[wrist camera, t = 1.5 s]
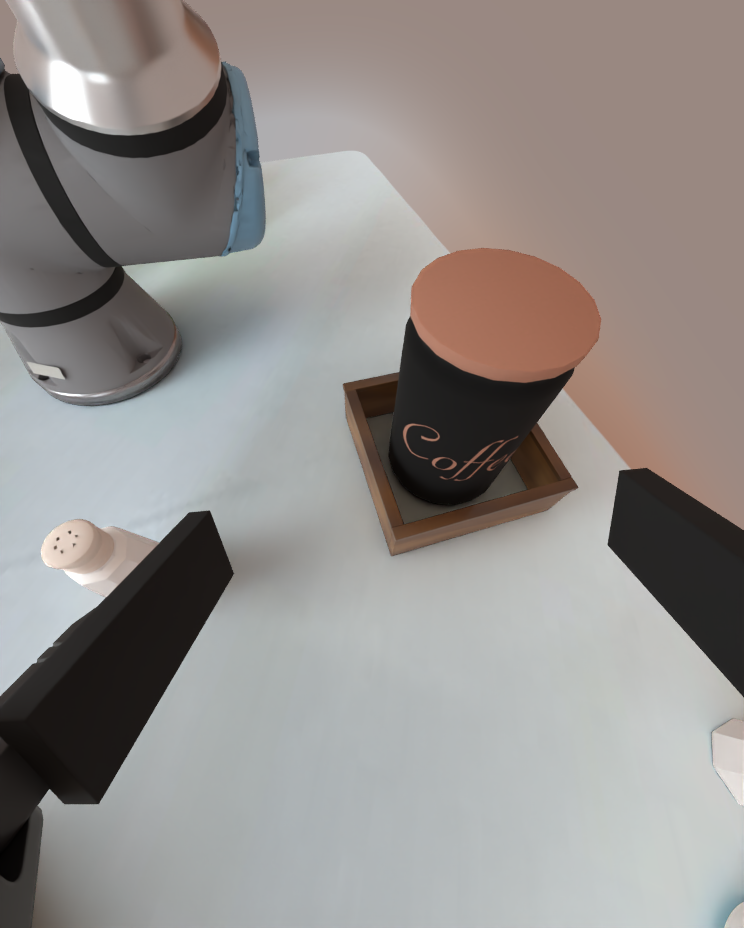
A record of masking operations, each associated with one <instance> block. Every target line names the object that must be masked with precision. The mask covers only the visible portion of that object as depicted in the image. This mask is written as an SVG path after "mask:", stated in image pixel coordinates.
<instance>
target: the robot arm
mask: <svg viewBox="0 0 744 928" xmlns="http://www.w3.org/2000/svg"><path fill="white" fill-rule="evenodd" d="M5 1H6V2H7V4H8V6H9V7H10V9H11V11H12V12H13V14H14V16H15V17H16V19H17V24H16V30H15V35H14V44H13V51H14V59H15V63H16V67H17V70H18V71H19V73H20V74H9V73H8V72H6V71H5V69H4V67H5V65H4V63H3V61H2V60H1V58H0V322H1V324H2V325H3V327H4V329H5V331H6V332H7V334H8V336H9V338H10V340H11V341H12V343H13V345H14V347H15V349H16V351H17V352H18V354H19V356H20V358H21V360H22V362H23V363H24V365H25V367H26V369H27V371H28V372H29V374H30V376H31V377H32V379H33V380H34V381H35V382H36V383H37V384H39V385H40V386H41V387H42V388H43V389H44V390H46V391H47V392H48V393H49V394H50V395H51V396H53V397H55V398H56V399H58V400H60V401H63V402H66V403H70V404H75V405H85V406H94V405H104V404H110V403H114V402H118V401H122V400H125V399H128V398H131V397H133V396H135V395H138V394H140V393H142V392H144V391H146V390H147V389H149V388H150V387H152V386H154V385H155V384H156V383H158V382H159V381H160V380H161V379H163V378H164V377H165V376H166V375H167V374H168V373H169V372H170V370H171V369H172V368H173V367H174V365H175V364H176V362H177V360H178V358H179V356H180V353H181V348H182V339H181V335H180V332H179V330H178V328H177V327H176V325H175V323H174V321H173V319H172V318H171V316H170V315H169V314H168V313H167V311H165V310H164V309H163V308H162V307H161V306H160V305H159V304H158V303H157V302H156V301H155V300H154V299H153V298H152V297H151V296H150V295H149V294H148V293H147V292H145V291H144V290H143V289H142V288H141V287H140V286H139V285H138V284H137V283H136V282H135V281H134V280H133V279H132V278H131V277H130V276H128V275H127V274H126V272H125V271H124V269H123V268H122V266H126V265H136V264H146V263H155V262H165V261H175V260H185V259H194V258H204V257H214V256H226V255H228V254H229V253H233V252H238V251H243V250H249V249H253V248H255V247H257V246H258V245H259V244H260V243H261V241H262V239H263V237H264V233H265V224H266V215H265V197H264V186H263V177H262V169H261V164H260V161H259V149H258V137H257V130H256V124H255V118H254V112H253V107H252V103H251V98H250V93H249V89H248V86H247V82H246V79H245V77H244V74H243V73H242V71H241V70H240V69H239V68H237V67H235V66H231V65H230V64H228V63H226V62H221V58H220V53H219V49H218V46H217V43H216V40H215V38H214V36H213V34H212V32H211V30H210V28H209V27H208V25H207V24H206V22H205V21H204V20H203V19H202V18H201V16H200V15H199V14H198V13H196V11H194V10H193V9H192V8H191V7H190V6H189V5H188V4H187V3H186V2H184V1H183V0H5ZM608 546H609V547H610V548H611V549H612V550H613V552H614V553H615V554H616V555H617V556H618V557H619V558H620V559H621V560H622V562H623V563H624V564H625V565H626V566H627V567H628V568H629V569H630V571H631V572H632V573H633V574H634V575H635V576H636V577H637V578H638V579H639V581H640V582H641V583H642V584H643V585H644V586H645V587H646V588H647V590H648V591H649V592H650V593H651V594H652V595H653V596H654V597H655V598H656V600H657V601H658V602H659V603H660V604H661V605H662V606H663V607H664V609H665V610H666V611H667V612H668V613H669V614H670V615H671V616H672V617H673V619H674V620H675V621H676V622H677V623H678V624H679V625H680V626H681V628H682V629H683V630H684V631H685V632H686V633H687V634H688V635H689V636H690V638H691V639H692V640H693V641H694V642H695V643H696V644H697V645H698V647H699V648H700V649H701V650H702V651H703V652H704V653H705V654H706V655H707V657H708V658H709V659H710V660H711V661H712V662H713V663H714V664H715V666H716V667H717V668H718V669H719V670H720V671H721V672H722V673H723V674H724V676H725V677H726V678H727V679H728V680H729V681H730V682H731V683H732V685H733V686H734V687H735V688H736V689H737V690H738V691H739V692H740V693H741V695H742V696H743V697H744V530H742V529H741V528H739V527H738V526H736V525H735V524H733V523H731V522H730V521H728V520H727V519H725V518H724V517H722V516H721V515H719V514H717V513H716V512H714V511H713V510H711V509H710V508H708V507H707V506H705V505H703V504H702V503H700V502H699V501H697V500H696V499H694V498H693V497H691V496H689V495H688V494H686V493H685V492H683V491H682V490H680V489H679V488H677V487H675V486H674V485H672V484H671V483H669V482H667V481H666V480H665V479H663V478H662V477H660V476H658V475H657V474H655V473H654V472H652V471H651V470H649V469H647V468H643V469H631V470H621V471H619V477H618V483H617V490H616V496H615V502H614V508H613V515H612V521H611V527H610V533H609V539H608ZM233 575H234V572H233V570H232V567H231V564H230V562H229V559H228V557H227V554H226V551H225V549H224V546H223V544H222V541H221V538H220V536H219V533H218V530H217V528H216V525H215V523H214V520H213V517H212V515H211V512H210V511H201V512H190V513H188V514H187V515H186V516H185V517H184V518H183V519H182V520H181V521H180V522H179V523H178V524H177V525H176V526H175V527H174V528H173V529H172V530H171V532H170V533H169V534H168V535H167V536H166V537H165V538H164V539H163V540H162V541H161V542H160V543H159V544H158V545H157V546H156V547H155V548H154V549H153V550H152V551H151V552H150V553H149V554H148V555H147V556H146V557H145V558H144V559H143V560H142V561H141V562H140V563H139V564H138V565H137V566H136V567H135V568H134V569H133V570H132V572H131V573H130V574H129V575H128V576H127V577H126V578H125V579H124V580H123V581H122V582H121V583H120V584H119V585H118V586H117V587H116V588H115V589H114V590H113V591H112V592H111V593H110V594H109V595H108V596H107V597H106V598H105V599H104V600H103V601H102V602H101V603H100V604H99V605H98V606H97V607H96V608H94V609H93V610H92V611H90V612H89V613H87V614H86V615H85V616H83V617H82V618H81V619H79V620H78V621H76V622H75V623H74V624H72V625H71V626H70V627H69V628H68V629H67V630H66V631H65V632H64V633H63V634H62V635H61V636H60V637H59V638H58V639H57V640H56V641H55V642H54V643H53V647H49V648H48V649H47V650H46V651H45V652H44V653H43V654H42V655H41V656H40V657H39V658H38V659H37V663H36V664H32V665H31V666H30V667H29V668H28V669H27V670H26V671H25V672H24V673H23V674H22V675H21V676H20V677H19V678H18V679H17V680H16V681H15V682H14V683H13V684H12V685H11V686H10V687H9V688H8V689H7V690H6V691H5V692H4V693H3V694H2V695H1V696H0V928H31V927H32V918H33V908H34V899H35V890H36V881H37V872H38V863H39V854H40V845H41V836H42V827H43V815H42V810H41V809H40V808H39V807H38V806H37V805H38V804H39V803H40V801H41V800H42V798H43V797H44V795H45V794H46V793H47V791H48V790H49V789H50V790H51V791H52V792H53V793H54V794H55V795H56V796H57V797H58V798H59V799H60V800H61V801H62V802H63V803H64V804H99V803H100V801H101V799H102V798H103V796H104V794H105V793H106V791H107V789H108V787H109V786H110V784H111V782H112V781H113V779H114V777H115V776H116V774H117V772H118V770H119V769H120V767H121V765H122V764H123V762H124V760H125V759H126V757H127V755H128V753H129V752H130V750H131V748H132V747H133V745H134V743H135V741H136V740H137V738H138V736H139V735H140V733H141V731H142V730H143V728H144V726H145V724H146V723H147V721H148V719H149V718H150V716H151V714H152V713H153V711H154V709H155V707H156V706H157V704H158V702H159V701H160V699H161V697H162V695H163V694H164V692H165V690H166V689H167V687H168V685H169V684H170V682H171V680H172V678H173V677H174V675H175V673H176V672H177V670H178V668H179V667H180V665H181V663H182V661H183V660H184V658H185V656H186V655H187V653H188V651H189V649H190V648H191V646H192V644H193V643H194V641H195V639H196V638H197V636H198V634H199V632H200V631H201V629H202V627H203V626H204V624H205V622H206V621H207V619H208V617H209V615H210V614H211V612H212V610H213V609H214V607H215V605H216V603H217V602H218V600H219V598H220V597H221V595H222V593H223V592H224V590H225V588H226V586H227V585H228V583H229V581H230V580H231V578H232V576H233Z"/></svg>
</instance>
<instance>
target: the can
mask: <svg viewBox="0 0 744 928" xmlns="http://www.w3.org/2000/svg"><path fill="white" fill-rule="evenodd" d="M724 928H744V902H742V903H741V904H739V905H738V906H737V907H736V908H735V909H734V910H733V911H732V912H731V914H730V915H729V917H728V919H727V921H726V924H725V927H724Z"/></svg>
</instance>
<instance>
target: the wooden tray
mask: <svg viewBox="0 0 744 928" xmlns="http://www.w3.org/2000/svg"><path fill="white" fill-rule="evenodd" d="M398 379H399V372H398V373H393V374H388V375H383V376H378V377H373V378H369V379H364V380H359V381H354V382H349V383H344V384H343V389H344V392H345V411H346V419H347V422H348V425H349V428H350V431H351V434H352V437H353V440H354V443H355V446H356V449H357V453H358V456H359V459H360V462H361V465H362V468H363V471H364V474H365V477H366V480H367V483H368V486H369V489H370V492H371V495H372V499H373V502H374V505H375V508H376V511H377V514H378V517H379V520H380V523H381V526H382V529H383V532H384V535H385V538H386V542H387V545H388V547H389V551H390V554H391V556H394V555H397V554H401V553H404V552H407V551H411V550H414V549H418V548H421V547H424V546H428V545H431V544H434V543H438V542H441V541H445V540H448V539H451V538H455V537H458V536H462V535H465V534H468V533H472V532H475V531H478V530H482V529H485V528H489V527H492V526H495V525H499V524H502V523H506V522H509V521H512V520H516V519H519V518H523V517H526V516H529V515H533V514H536V513H539V512H543V511H546V510H548V509H550V508H551V507H552V506H553V505H555V504H556V503H557V502H558V501H560V500H561V499H562V498H563V497H565V496H566V495H567V494H568V493H570V492H571V491H574V490H576V489H577V488H578V486H577V484H576V483H575V481H574V480H573V478H571V475H570V473H569V472H568V470H567V469H566V467H565V466H564V464H563V462H562V461H561V459H560V458H559V456H558V455H557V453H556V452H555V450H554V448H553V447H552V445H551V444H550V442H549V441H548V439H547V438H546V436H545V434H544V433H543V431H542V430H541V428H540V427H539V425H538V423H536V424H535V426H534V427H533V428H532V430H531V431H530V433H529V434H528V435H527V437H526V438H525V439H524V441H523V442H522V443H521V445H520V446H519V447H518V449H517V450H516V451H515V453H514V454H513V455H512V457H511V460H512V462H513V464H514V466H515V467H516V469H517V471H518V473H519V474H520V476H521V478H522V480H523V482H524V483H525V485H526V487H527V489H528V490H525V491H522V492H518V493H514V494H511V495H507V496H504V497H500V498H497V499H493V500H490V501H486V502H482V503H479V504H475V505H472V506H468V507H465V508H461V509H458V510H454V511H450V512H447V513H443V514H440V515H436V516H433V517H429V518H426V519H422V520H418V521H415V522H411V523H408V524H404V523H403V520H402V518H401V515H400V512H399V509H398V506H397V504H396V501H395V498H394V495H393V492H392V490H391V487H390V484H389V481H388V479H387V476H386V473H385V470H384V467H383V465H382V462H381V459H380V456H379V453H378V451H377V448H376V445H375V442H374V439H373V437H372V434H371V431H370V428H369V426H368V423H367V420H366V418H369V417H374V416H378V415H383V414H387V413H392V412H394V407H395V400H396V393H397V386H398Z"/></svg>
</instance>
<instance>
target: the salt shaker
mask: <svg viewBox="0 0 744 928" xmlns="http://www.w3.org/2000/svg"><path fill="white" fill-rule="evenodd" d="M712 752H713V767H714V768H715V770H716V771H717V773H718V774H719V776H720V777H721V779H722V780H723V781H724V783H725V784H726V786H727V787H728V789H729V790H730V792H731V793H732V795H733V796H734V798H735V799H736V801H737V802H738V804H739V805H741V806H743V807H744V721H741V720H737V719H731V720H730V721H728V722H727V723H725V724H724V725H722V726H720V727H719V728H717V729H716V730H714V731H713V732H712Z"/></svg>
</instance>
